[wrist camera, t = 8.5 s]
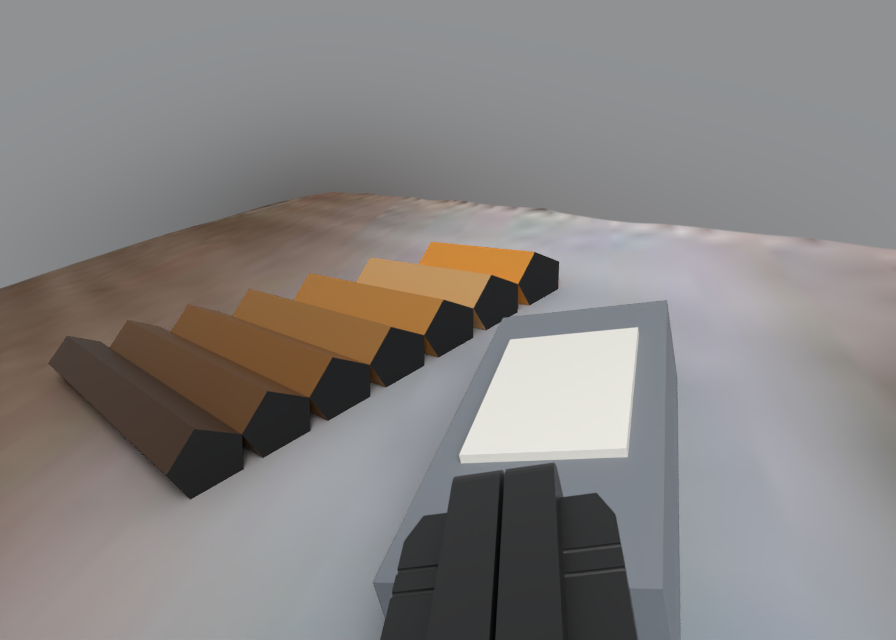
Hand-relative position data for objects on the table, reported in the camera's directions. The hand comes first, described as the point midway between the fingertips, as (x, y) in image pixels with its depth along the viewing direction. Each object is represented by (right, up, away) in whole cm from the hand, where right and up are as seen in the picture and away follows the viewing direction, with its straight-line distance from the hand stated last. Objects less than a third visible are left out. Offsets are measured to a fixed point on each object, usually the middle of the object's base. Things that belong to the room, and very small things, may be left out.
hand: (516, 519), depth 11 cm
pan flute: (-11, +1, +37) cm, 38 cm away
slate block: (+1, -5, +7) cm, 9 cm away
